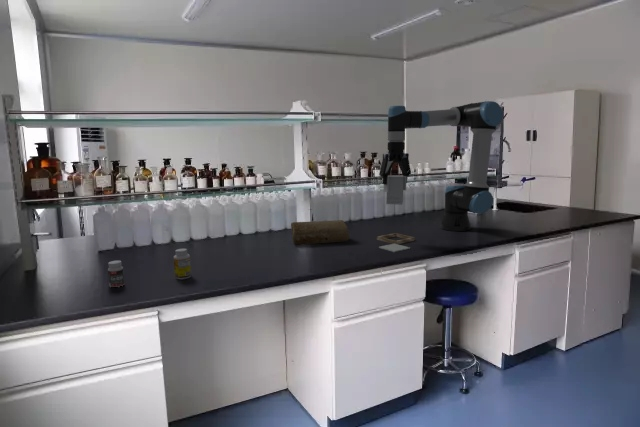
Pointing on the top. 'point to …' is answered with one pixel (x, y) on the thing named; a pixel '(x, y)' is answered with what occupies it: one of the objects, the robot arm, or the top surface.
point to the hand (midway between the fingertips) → (395, 190)
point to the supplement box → (395, 190)
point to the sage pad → (394, 247)
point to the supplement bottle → (182, 264)
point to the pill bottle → (115, 274)
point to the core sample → (319, 232)
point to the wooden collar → (406, 238)
